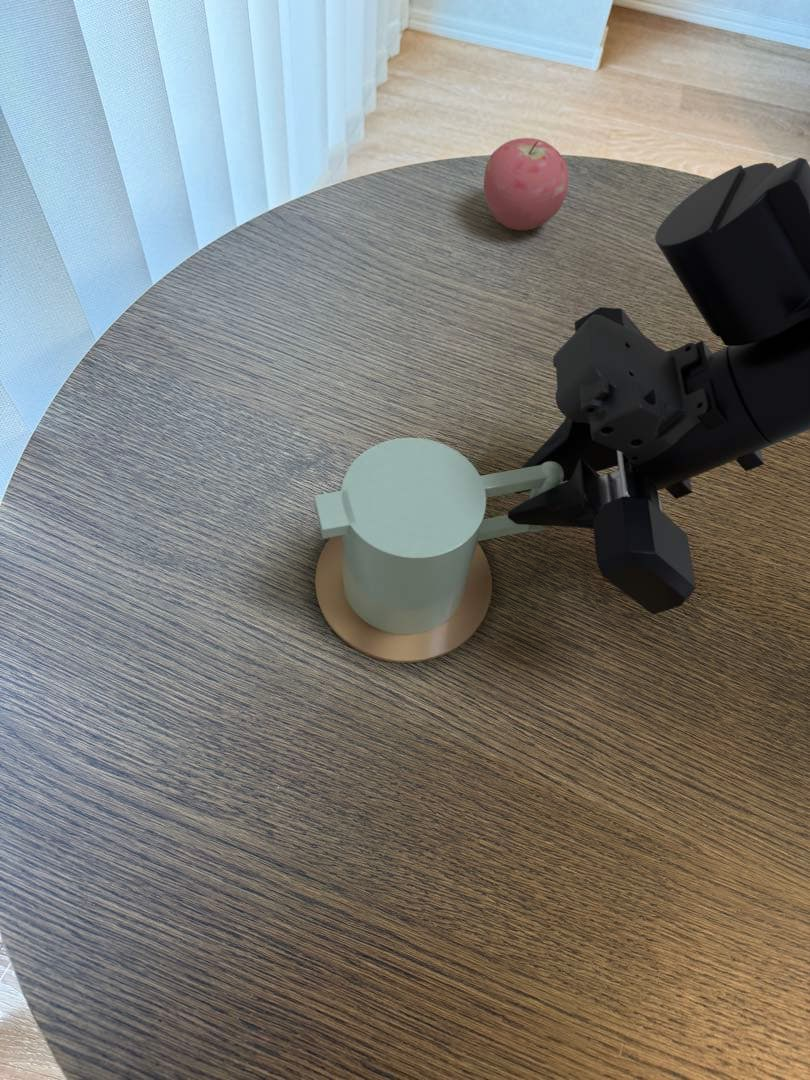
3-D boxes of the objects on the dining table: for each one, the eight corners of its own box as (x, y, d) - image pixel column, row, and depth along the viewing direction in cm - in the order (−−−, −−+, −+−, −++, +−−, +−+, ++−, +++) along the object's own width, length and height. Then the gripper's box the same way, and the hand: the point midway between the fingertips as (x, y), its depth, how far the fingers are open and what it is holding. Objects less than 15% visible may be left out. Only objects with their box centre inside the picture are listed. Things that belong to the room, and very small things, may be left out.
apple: (537, 190, 79) (555, 110, 73) (569, 239, 76) (590, 160, 69) (466, 202, 78) (477, 121, 71) (494, 253, 74) (509, 173, 67)
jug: (336, 651, 53) (333, 573, 44) (310, 542, 57) (303, 450, 48) (553, 605, 55) (591, 522, 47) (513, 503, 59) (542, 410, 51)
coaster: (510, 536, 58) (511, 533, 58) (463, 687, 52) (464, 685, 52) (351, 488, 60) (351, 485, 60) (288, 629, 54) (287, 627, 53)
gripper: (655, 182, 43) (432, 327, 53) (709, 458, 33) (421, 578, 42) (745, 308, 50) (533, 417, 59) (813, 570, 40) (545, 653, 49)
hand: (511, 502), depth 52 cm, fingers closed
